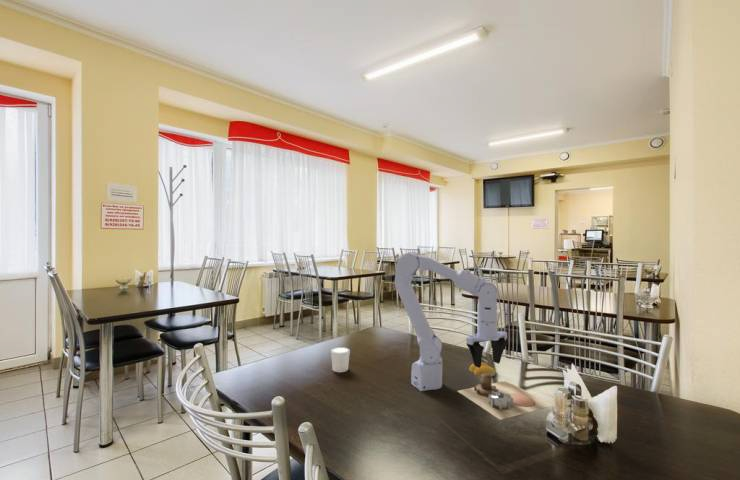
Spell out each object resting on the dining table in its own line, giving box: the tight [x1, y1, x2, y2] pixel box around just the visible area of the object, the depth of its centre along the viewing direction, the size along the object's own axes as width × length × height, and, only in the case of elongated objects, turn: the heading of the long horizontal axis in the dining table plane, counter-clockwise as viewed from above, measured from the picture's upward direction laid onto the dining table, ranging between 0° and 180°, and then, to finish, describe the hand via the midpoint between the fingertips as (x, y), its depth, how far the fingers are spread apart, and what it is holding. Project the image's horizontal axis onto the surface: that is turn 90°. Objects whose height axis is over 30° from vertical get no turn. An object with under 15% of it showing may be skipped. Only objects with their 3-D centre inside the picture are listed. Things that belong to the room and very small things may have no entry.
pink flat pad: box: [510, 393, 534, 407], centre depth 103 cm, size 8×8×1 cm
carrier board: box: [457, 380, 554, 421], centre depth 104 cm, size 20×18×1 cm
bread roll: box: [469, 361, 496, 377], centre depth 124 cm, size 8×9×4 cm
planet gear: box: [474, 373, 498, 397], centre depth 108 cm, size 7×7×5 cm
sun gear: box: [488, 391, 513, 411], centre depth 100 cm, size 7×7×3 cm
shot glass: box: [330, 346, 351, 373], centre depth 127 cm, size 7×7×7 cm
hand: (487, 364), depth 108 cm, fingers open, 7 cm apart
